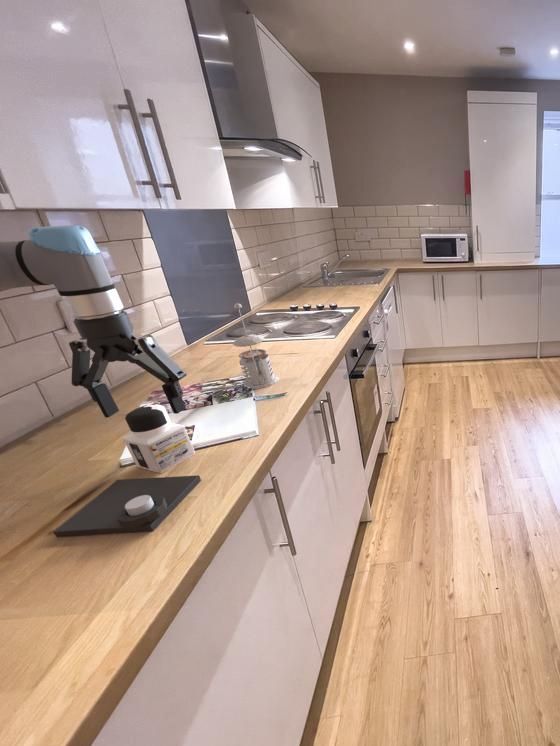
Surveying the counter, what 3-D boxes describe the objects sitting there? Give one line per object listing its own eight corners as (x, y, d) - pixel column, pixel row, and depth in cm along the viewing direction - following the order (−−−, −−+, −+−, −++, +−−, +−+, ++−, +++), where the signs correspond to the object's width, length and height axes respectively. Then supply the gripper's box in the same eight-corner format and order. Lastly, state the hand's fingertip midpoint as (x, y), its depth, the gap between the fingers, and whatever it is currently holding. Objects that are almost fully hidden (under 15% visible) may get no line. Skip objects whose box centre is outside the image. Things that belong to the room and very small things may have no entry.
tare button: (123, 517, 72) (119, 509, 71) (138, 503, 75) (134, 495, 74) (145, 515, 72) (141, 508, 71) (159, 501, 75) (155, 494, 74)
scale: (55, 538, 71) (46, 525, 69) (120, 485, 84) (113, 473, 82) (153, 532, 72) (146, 519, 70) (202, 480, 85) (197, 468, 83)
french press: (274, 373, 134) (252, 297, 123) (283, 384, 126) (261, 304, 115) (240, 381, 128) (214, 303, 117) (247, 394, 120) (220, 311, 109)
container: (160, 474, 87) (135, 421, 81) (136, 467, 89) (110, 415, 83) (196, 454, 93) (175, 403, 88) (173, 448, 95) (151, 398, 90)
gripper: (181, 306, 81) (218, 400, 90) (47, 311, 79) (98, 406, 88) (154, 316, 74) (197, 417, 83) (7, 322, 72) (67, 425, 82)
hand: (146, 412), depth 86 cm, fingers open, 13 cm apart
